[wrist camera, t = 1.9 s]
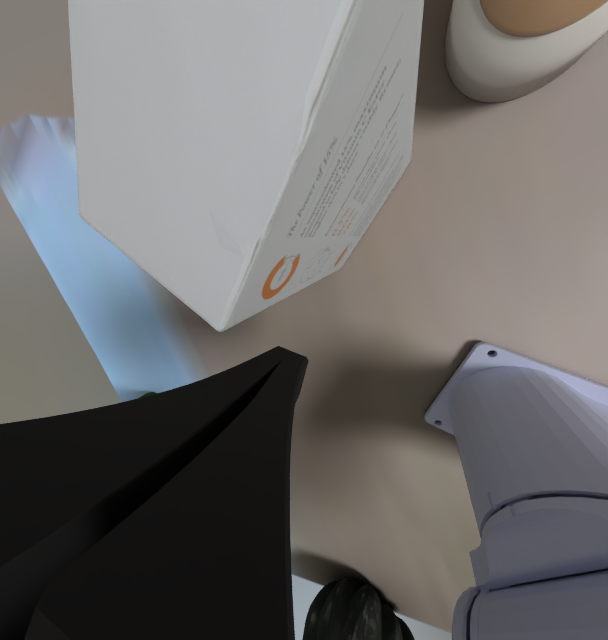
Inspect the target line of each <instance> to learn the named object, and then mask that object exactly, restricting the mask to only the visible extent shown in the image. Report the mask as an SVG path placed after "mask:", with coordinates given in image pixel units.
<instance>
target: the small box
mask: <svg viewBox="0 0 608 640" xmlns="http://www.w3.org/2000/svg"><path fill="white" fill-rule="evenodd" d="M68 7H69V8H68V10H69V26H70V45H71V46H70V47H71V63H72V82H73V99H74V116H75V136H76V157H77V176H78V199H79V216H80V217H81V218H82V219H83V220H84V221H85V222H87V223H88V224H89V225H90V226H92V227H93V228H94V229H95V230H96V231H97V232H99V233H100V234H101V235H102V236H103V237H105V238H106V239H107V240H109V241H110V242H111V243H112V244H114V245H115V246H116V247H117V248H118V249H119V250H121V251H122V252H123V253H124V254H125V255H127V256H128V257H129V258H130V259H131V260H133V261H134V262H135V263H136V264H137V265H139V266H140V267H141V268H142V269H144V270H145V271H146V272H147V273H148V274H150V275H151V276H152V277H153V278H154V279H156V280H157V281H158V282H159V283H161V284H162V285H163V286H164V287H165V288H167V289H168V290H169V291H170V292H171V293H173V294H174V295H175V296H176V297H177V298H179V299H180V300H181V301H182V302H183V303H185V304H186V305H187V306H188V307H190V308H191V309H192V310H193V311H194V312H196V313H197V314H198V315H199V316H200V317H202V318H203V319H204V320H205V321H206V322H207V323H209V324H210V325H211V326H212V327H213V328H214V329H216V330H217V331H218V332H223V331H225V330H227V329H229V328H231V327H233V326H234V325H236V324H238V323H240V322H242V321H244V320H246V319H248V318H250V317H251V316H253V315H255V314H257V313H259V312H261V311H263V310H264V309H266V308H268V307H270V306H272V305H274V304H275V303H277V302H279V301H281V300H283V299H285V298H287V297H289V296H291V295H292V294H294V293H296V292H298V291H300V290H302V289H304V288H306V287H307V286H309V285H311V284H313V283H315V282H317V281H318V280H320V279H322V278H324V277H326V276H328V275H330V274H331V273H333V272H335V271H337V270H339V269H341V267H342V266H343V264H344V263H345V262H346V260H347V259H348V257H349V256H350V254H351V253H352V251H353V250H354V248H355V247H356V245H357V244H358V242H359V240H360V239H361V237H362V236H363V234H364V233H365V231H366V230H367V228H368V227H369V225H370V224H371V222H372V220H373V219H374V217H375V216H376V214H377V213H378V211H379V210H380V208H381V207H382V205H383V204H384V202H385V200H386V199H387V197H388V196H389V194H390V193H391V191H392V190H393V188H394V187H395V185H396V183H397V182H398V180H399V179H400V177H401V176H402V174H403V172H404V171H405V169H406V167H407V166H408V164H409V163H410V161H411V153H412V140H413V125H414V114H415V103H416V92H417V79H418V67H419V55H420V43H421V31H422V19H423V7H424V0H68Z"/></svg>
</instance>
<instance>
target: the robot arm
mask: <svg viewBox="0 0 608 640" xmlns="http://www.w3.org/2000/svg"><path fill="white" fill-rule="evenodd" d="M491 350H494V351H495V353H494V354H491V355H489V354H487V353H488V352H489V351H491ZM307 364H308V359H307V357H305V356H302V355H300V354H297V353H295V352H292V351H290V350H287V349H285V348H282V347H280V346H278V347H275V348H273V349H271V350H269V351H267V352H265V353H263V354H261V355H259V356H257V357H254V358H252V359H250V360H248V361H246V362H244V363H241V364H239V365H237V366H235V367H233V368H230V369H228V370H225V371H223V372H220V373H218V374H215V375H213V376H210V377H208V378H205V379H203V380H200V381H197V382H194V383H191V384H188V385H185V386H182V387H178V388H175V389H172V390H169V391H165V392H162V393H158V394H154V395H150V396H146V397H142V398H138V399H134V400H130V401H126V402H122V403H118V404H114V405H109V406H104V407H99V408H94V409H89V410H84V411H80V412H74V413H69V414H63V415H57V416H51V417H46V418H39V419H32V420H26V421H19V422H12V423H6V424H0V640H295V634H294V616H293V597H292V576H291V548H290V451H291V435H292V423H293V415H294V407H295V403H296V401H297V398H298V396H299V394H300V390H301V386H302V383H303V379H304V375H305V372H306V368H307ZM424 417H425V421H426V422H427V423H429V424H431V425H433V426H435V427H437V428H439V429H441V430H443V431H445V432H448V433H450V434H452V435H454V436H455V439H456V443H457V447H458V451H459V455H460V459H461V462H462V466H463V470H464V474H465V478H466V482H467V486H468V490H469V494H470V498H471V502H472V506H473V510H474V513H475V517H476V521H477V525H478V529H479V533H480V537H481V544H480V546H479V547H478V548H477V549H475V550H472V551H471V552H470V557H471V562H472V567H473V572H474V577H475V581H476V586H475V587H470V588H468V589H467V590H465V591H464V592H463V593H462V594H461V596H460V597H459V599H458V600H457V603H456V606H455V609H454V613H453V622H452V640H608V386H605V385H602V384H600V383H597V382H594V381H591V380H589V379H586V378H583V377H580V376H578V375H575V374H572V373H569V372H567V371H564V370H561V369H558V368H556V367H553V366H550V365H547V364H545V363H542V362H539V361H537V360H534V359H531V358H528V357H526V356H523V355H520V354H517V353H515V352H512V351H509V350H506V349H504V348H501V347H498V346H495V345H493V344H490V343H487V342H479V343H476V344H475V345H474V347H473V348H472V349H471V351H470V352H469V353H468V355H467V356H466V358H465V359H464V360H463V362H462V363H461V365H460V366H459V367H458V369H457V370H456V372H455V373H454V374H453V376H452V377H451V378H450V380H449V381H448V383H447V384H446V385H445V387H444V388H443V390H442V391H441V392H440V394H439V395H438V396H437V398H436V399H435V401H434V402H433V403H432V405H431V406H430V408H429V409H428V410H427V412H426V413H425V415H424ZM436 420H439V421H440V422H436Z"/></svg>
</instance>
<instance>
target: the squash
mask: <svg viewBox="0 0 608 640" xmlns="http://www.w3.org/2000/svg"><path fill="white" fill-rule="evenodd" d="M303 640H414V637H413V635H412V633H411V631H410V629H409V628H408V626H407V625H406V623H405V622H404V621H403V620H402V619H400V618H399V617H397V616H396V615H395V613H394V612H393V610H392V609H391V608H390V607H389V606H388V605H386V604H381V602H380V599H379V597H378V595H377V593H376V591H375V590H374V589H373V588H372V587H371V586H370V585H369V584H365V585H363V586H362V587H360V586H359V584H358V583H357V582H356V581H355V580H354V579H352V578H345V579H343V580H341V581H340V582H339V581H333V582H331V583H328V584H327V585H326V586H324V587H323V589H321V590H320V592H319V593H318V594H317V596H316V597H315V599H314V600H313V602H312V604H311V606H310V608H309V611H308V614H307V618H306V622H305V628H304V634H303Z"/></svg>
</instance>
